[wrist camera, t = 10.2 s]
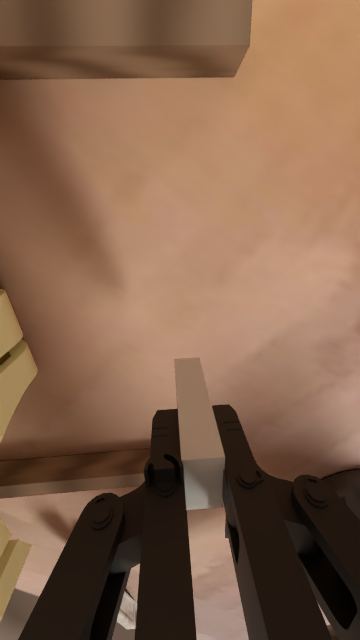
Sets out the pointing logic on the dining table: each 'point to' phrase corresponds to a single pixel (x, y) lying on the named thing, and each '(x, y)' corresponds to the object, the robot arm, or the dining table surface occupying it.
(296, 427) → the dining table surface
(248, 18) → the bay frame
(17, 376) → the slatted curved stool
